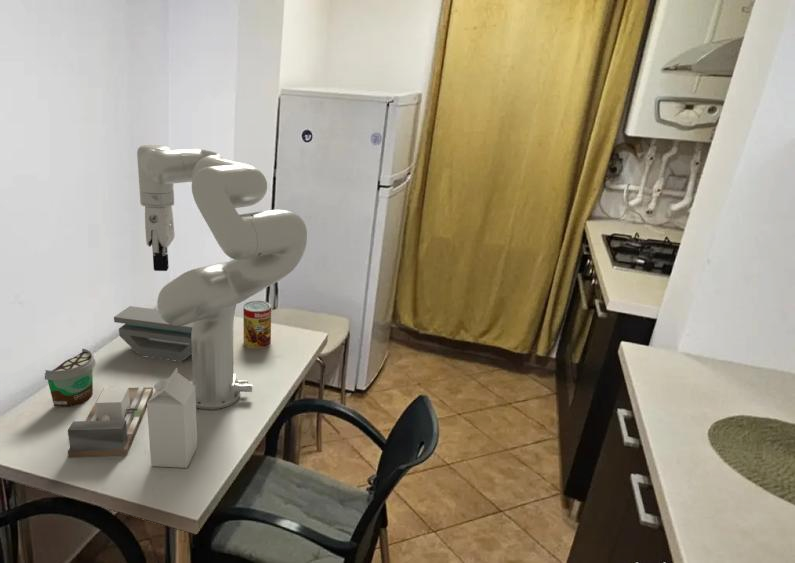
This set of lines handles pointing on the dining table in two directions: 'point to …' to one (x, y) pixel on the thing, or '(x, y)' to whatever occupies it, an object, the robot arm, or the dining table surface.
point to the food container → (72, 380)
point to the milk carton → (172, 422)
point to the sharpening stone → (154, 334)
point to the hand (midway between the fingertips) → (161, 269)
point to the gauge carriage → (114, 403)
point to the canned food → (257, 324)
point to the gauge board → (108, 429)
